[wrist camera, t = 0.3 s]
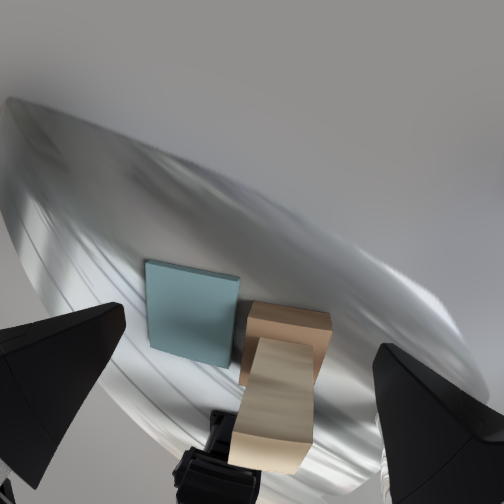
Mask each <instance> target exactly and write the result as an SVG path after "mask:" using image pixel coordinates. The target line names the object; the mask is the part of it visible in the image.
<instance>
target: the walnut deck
mask: <svg viewBox="0 0 504 504" xmlns="http://www.w3.org/2000/svg"><path fill="white" fill-rule="evenodd" d="M332 332H333V330H332V323H331V317H330V314H329V313H323V312H316V311H310V310H304V309H298V308H292V307H286V306H280V305H274V304H269V303H263V302H258V301H254V302H253V305H252V307H251V310H250V313H249V315H248V319H247V327H246V334H245V341H244V348H243V356H242V363H241V370H240V377H239V384H238V385H241V386H245V387H246V385H247V382H248V378H249V375H250V371H251V368H252V364H253V361H254V357H255V354H256V350H257V347H258V343H259V339H260V337H262V338H267V339H272V340H278V341H284V342H290V343H296V344H302V345H309V346H313V370H314V384H315V382H316V379H317V376H318V373H319V371H320V368H321V365H322V362H323V359H324V356H325V353H326V351H327V348H328V344H329V341H330V338H331V335H332Z"/></svg>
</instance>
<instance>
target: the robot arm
mask: <svg viewBox="0 0 504 504" xmlns="http://www.w3.org/2000/svg"><path fill="white" fill-rule="evenodd" d="M125 328H126V321H125V313H124V307H123V305H122V304H120V303H116V302H110V303H106V304H102V305H98V306H95V307H91V308H87V309H83V310H79V311H76V312H72V313H68V314H64V315H60V316H56V317H52V318H49V319H45V320H41V321H37V322H34V323H29V324H25V325H20V326H16V327H11V328H6V329H2V330H0V504H16V503H15V499H14V495H13V491H12V487H11V482H10V480H9V479H8V478H7V476H8V475H9V473H10V472H11V471H13V472H14V473H15V474H16V475H17V476H18V477H20V478H21V479H22V480H23V481H24V482H25V483H27V484H28V485H29V486H31V487H32V488H33V489H34V490H35V489H37V487H38V485H39V483H40V481H41V479H42V477H43V475H44V473H45V471H46V469H47V467H48V465H49V463H50V461H51V459H52V457H53V455H54V453H55V452H56V450H57V447H58V445H59V444H60V442H61V440H62V438H63V437H64V435H65V433H66V431H67V429H68V428H69V426H70V424H71V422H72V421H73V419H74V417H75V415H76V414H77V412H78V410H79V409H80V407H81V405H82V404H83V402H84V400H85V399H86V397H87V395H88V394H89V392H90V391H91V389H92V387H93V386H94V384H95V382H96V381H97V379H98V378H99V376H100V375H101V373H102V371H103V370H104V368H105V367H106V365H107V363H108V362H109V360H110V358H111V356H112V354H113V352H114V350H115V348H116V346H117V344H118V343H119V341H120V339H121V337H122V335H123V333H124V331H125ZM372 368H373V377H374V386H375V396H376V404H377V409H378V414H379V419H380V424H381V430H382V435H383V441H384V447H385V453H386V459H387V466H388V473H389V481H390V490H391V500H392V504H504V415H502V414H500V413H498V412H496V411H495V410H493V409H491V408H489V407H488V406H486V405H484V404H483V403H481V402H479V401H478V400H476V399H475V398H473V397H472V396H470V395H469V394H467V393H466V392H464V391H463V390H461V389H460V388H458V387H457V386H455V385H454V384H452V383H451V382H449V381H448V380H446V379H445V378H443V377H442V376H441V375H439V374H438V373H436V372H435V371H433V370H432V369H430V368H429V367H427V366H426V365H424V364H423V363H421V362H420V361H418V360H417V359H415V358H414V357H412V356H411V355H410V354H408V353H407V352H405V351H404V350H402V349H401V348H399V347H398V346H396V345H395V344H393V343H382V344H381V345H380V347H379V349H378V352H377V354H376V356H375V359H374V361H373V367H372ZM236 419H237V416H235V415H231V414H226V413H222V412H218V411H212V412H211V417H210V435H209V437H208V440H207V442H206V445H205V448H204V450H200V449H197V448H196V447H193V446H191V448H190V450H185V452H184V454H183V457H182V459H181V460H180V462H179V464H178V465H177V466H176V468H175V469H174V471H173V473H172V475H173V476H174V478H175V480H174V482H175V484H174V487H176V488H178V491H177V493H176V504H255V503H256V500H257V497H258V494H259V490H260V481H261V471H262V470H256V469H250V468H245V467H240V466H235V465H231V464H228V459H229V452H230V446H231V439H232V432H233V428H234V425H235V422H236Z"/></svg>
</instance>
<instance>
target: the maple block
mask: <svg viewBox="0 0 504 504" xmlns="http://www.w3.org/2000/svg"><path fill="white" fill-rule="evenodd" d="M313 411H314V370H313V346H309V345H302V344H296V343H290V342H284V341H278V340H272V339H267V338H262V337H260V339H259V343H258V347H257V350H256V354H255V357H254V361H253V364H252V368H251V371H250V375H249V378H248V382H247V385H246V389H245V392H244V395H243V399H242V402H241V405H240V409H239V412H238V415H237V419H236V422H235V425H234V428H233V432H232V439H231V446H230V452H229V459H228V464H231V465H235V466H240V467H245V468H250V469H256V470H262V471H269V472H276V473H284V474H293V475H294V474H295V472H296V471H297V469H298V467H299V466H300V464H301V463H302V461H303V459H304V458H305V456H306V454H307V453H308V451H309V449H310V448H311V446H312V444H313Z"/></svg>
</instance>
